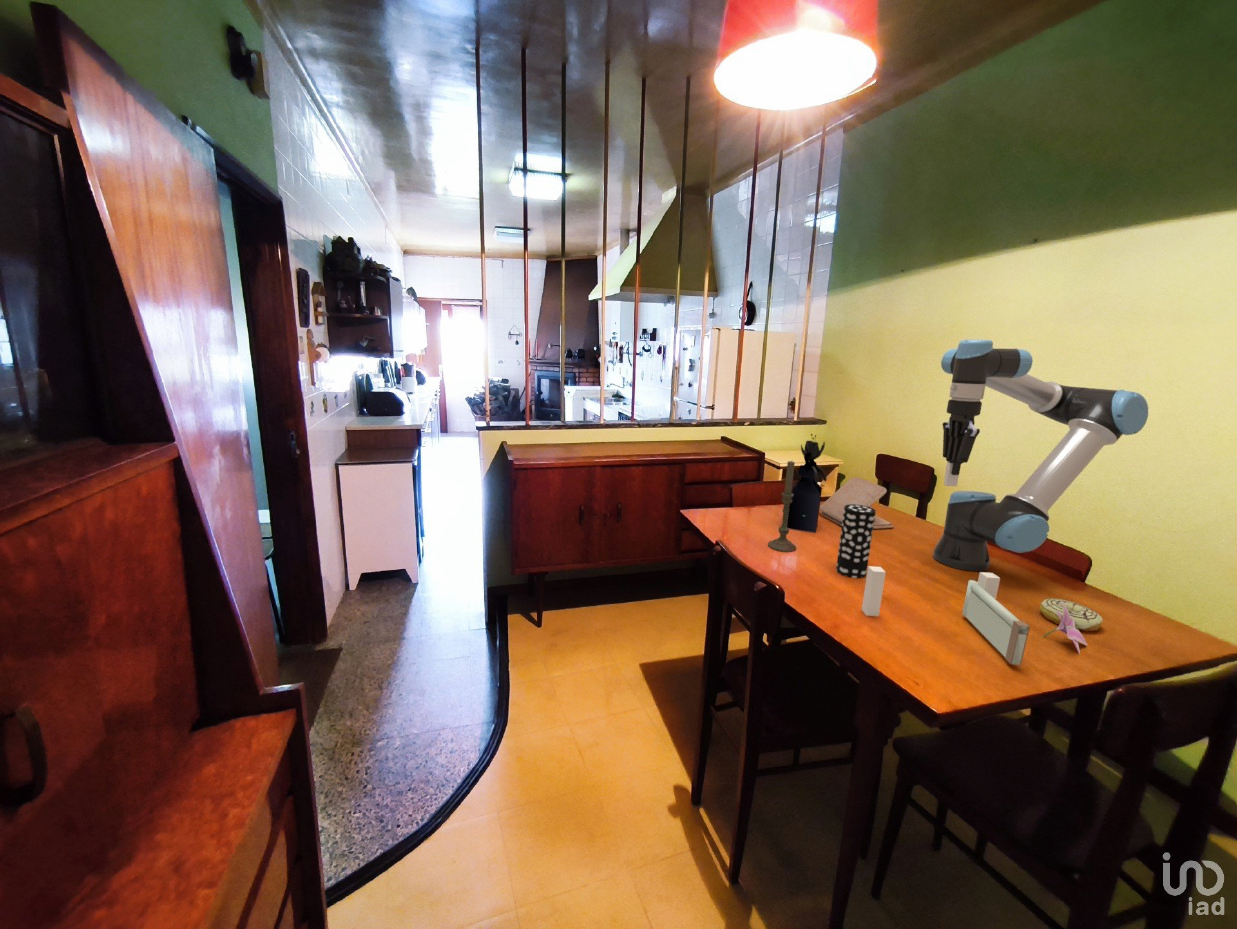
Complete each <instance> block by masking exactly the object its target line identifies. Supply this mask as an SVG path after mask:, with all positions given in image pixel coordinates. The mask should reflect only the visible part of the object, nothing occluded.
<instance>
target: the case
mask: <svg viewBox="0 0 1237 929" xmlns="http://www.w3.org/2000/svg"><path fill="white" fill-rule="evenodd" d="M887 491H888V490H887V488H886V487H884V486H882V485H880V484H877V483H874V482H872V481H870V480H866V479H864V478H860V477H857V476H854V477H852V478H850V479H849V480H848V481H846V482H845V483H844V484H843V485H842V486H841V487H840V488H839V489H837V490H836V491H835V492H834V493H833V494H832V495H831V496H830V497H828V499H827V500H825V501H824V502H823V503H822V504H820V508H819V512H820V515H821V516H822V517H824V518H826V519H828V520H829V521H832V522H833V523H834V524H837V525H839V526H840V527H842V521H843V514H844V506H845V505H849V504H856V505H863V506H868V507H871V508H872V506H873V505H874V504H876V502H877V501H880V499H881V498H883V497H884V496H885V495H886V494H887ZM894 527H895V526H894V524H892V523H891V522H890V521H888V520H885V519H883V518H882V517H880V516H877V515H875V519H874V526H873V530H875V529H876V530H877V529H878V530H879V529H892V528H894Z"/></svg>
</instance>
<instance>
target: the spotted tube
mask: <svg viewBox="0 0 1237 929" xmlns="http://www.w3.org/2000/svg"><path fill="white" fill-rule="evenodd" d="M876 512H877V510H876V509H875V508H873V507H872V506H871V507H868V506H863V505H856V504H849V505H845V506H844V514H843V521H842V526H841V530H840V537H839V538H840V539H839V544H838V553H837V561H836V567H835V570H836V573H838V574H840V575H841V576H844V577H847V578H853V579H863V578H865V577H866V578H867V571H868V566H869V558H870V553H871V547H872V546H871V545H872V540H873V539H872V538H873V532H874V529H873V526H874V519H875V516H876Z"/></svg>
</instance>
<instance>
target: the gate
mask: <svg viewBox="0 0 1237 929" xmlns="http://www.w3.org/2000/svg"><path fill="white" fill-rule="evenodd" d="M966 588H967V589H966V594H965V598H964V602H963V609H962V613H961V615H962V616H964V617H965V618H966V619H967V620H968V621H969V622H970V623H971V625H973V626H974V627H975V628H976V629H977V630H978V631H979V632H980V633H981V635H982V636H984V637H985V638H986V640H987V641H988V642H990V644H992V646H993V647H994V648H995V649H996V650H998V652H1000V654H1002V656H1004V659H1005V660H1006V661H1007V663H1009V664H1010V665H1015V666H1022V662H1023V657H1024V653H1025V649H1026V645H1027V640H1028V636H1029V632H1030V628H1031V627H1030V625H1029V624H1027V623H1026V621H1023V620H1022V621H1021V620H1020V619H1019V618H1017V616H1016V615H1014V614H1013V613H1012V612H1011V611H1010V610H1009V609H1007V607H1005V606H1004V605H1003V604H1001V602H999V601H998V600H995V599H994V598H993V597H992V596H991V595H990V594H988V593H987V592H986V591H985V590H984V589H983V588H981V587H980V586H979V585H978V580H977V581H976V580H974V579H969V580H968V582H967V587H966Z"/></svg>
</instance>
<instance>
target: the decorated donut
mask: <svg viewBox="0 0 1237 929" xmlns="http://www.w3.org/2000/svg"><path fill="white" fill-rule="evenodd" d="M1061 600H1062V601H1063V602H1064V604H1065V606H1066V607H1067V609H1068V612H1069V615H1070V617H1072V618H1073V620H1074V623H1075V625H1076V626H1075V628H1076V629H1077V630H1079V631H1082V632H1094V631H1098V630H1099V629H1100V628H1101V625H1102V622H1103V621H1104V620H1103V619H1104V618H1103V617H1102V616H1101V615H1100V614H1099V613H1097V612H1096V611H1094V610H1092V609H1091V608H1089V607H1086V606H1085V605H1081V604H1079V603H1077V602H1073V601H1070V600H1065V599H1062V598H1061V599H1060V598H1046V599H1044V600H1043V601H1042V602H1041V603H1040V606H1039V609H1040V611H1041V614H1042V615H1043V616H1044V617H1045V619H1046V620H1049V621H1051V622H1053V624H1056V625H1058V626H1059V625H1060V623H1061V619H1060V618H1059V616H1058V615H1057V613H1056V612H1055V610H1057V611H1058V612H1060V613H1061V614H1062V619H1063V605H1062V602H1061Z"/></svg>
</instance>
